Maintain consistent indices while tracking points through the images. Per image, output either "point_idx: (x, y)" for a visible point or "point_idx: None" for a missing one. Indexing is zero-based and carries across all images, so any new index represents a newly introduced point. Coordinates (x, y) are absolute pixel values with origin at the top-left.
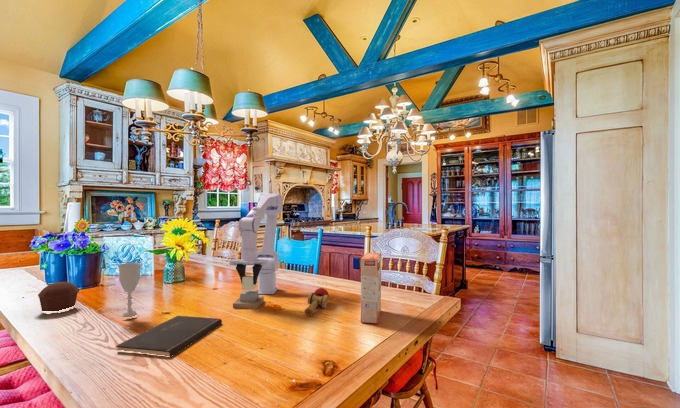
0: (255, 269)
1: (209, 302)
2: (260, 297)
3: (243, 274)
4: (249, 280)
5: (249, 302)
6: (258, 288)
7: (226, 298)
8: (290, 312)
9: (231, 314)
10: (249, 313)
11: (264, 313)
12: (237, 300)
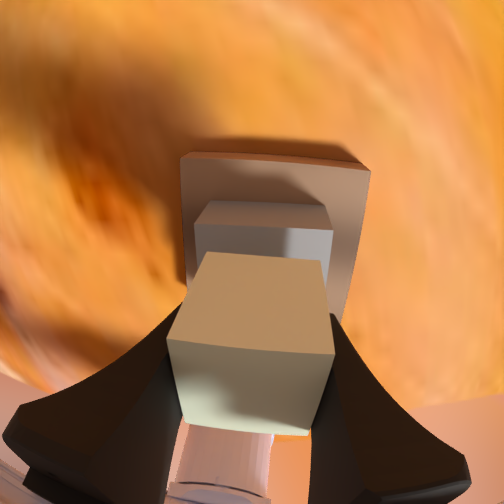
0: (64, 418)
1: (490, 288)
2: None
3: (325, 418)
4: (223, 313)
5: (246, 185)
6: None
7: (417, 345)
8: (16, 109)
9: (335, 40)
10: (214, 55)
11: (121, 66)
12: (351, 240)
